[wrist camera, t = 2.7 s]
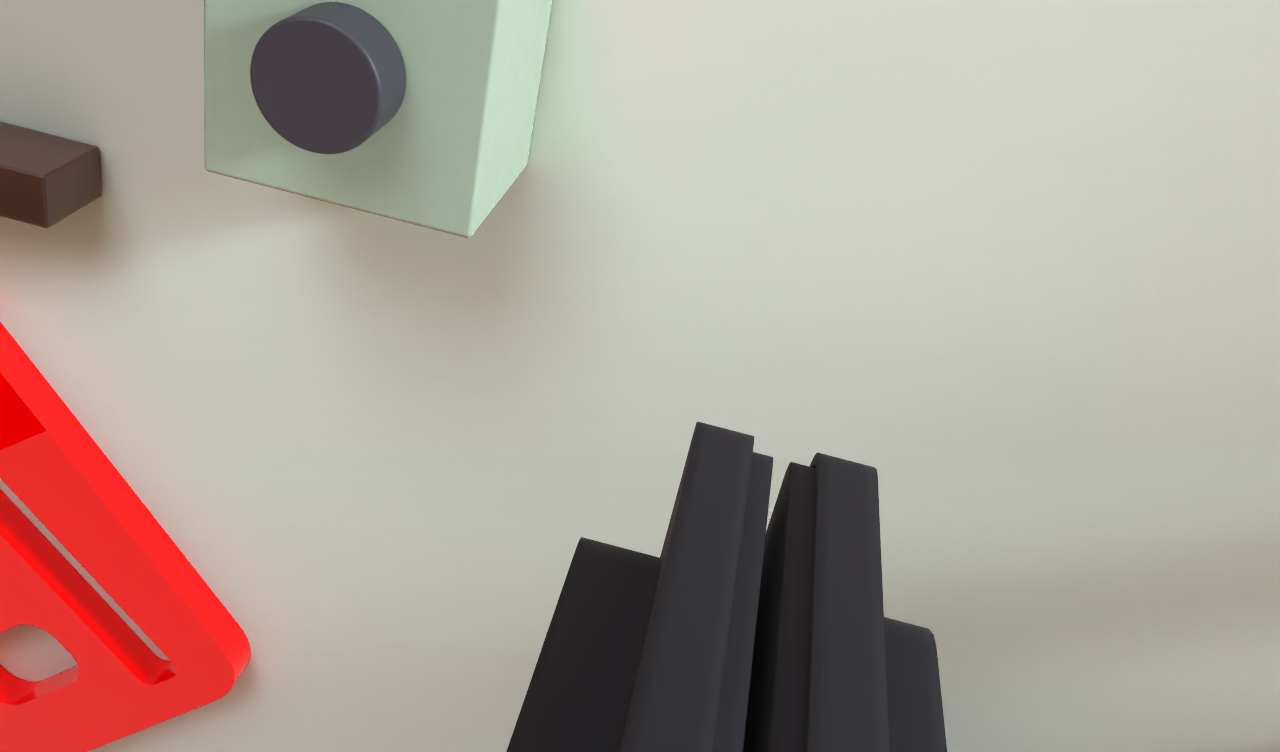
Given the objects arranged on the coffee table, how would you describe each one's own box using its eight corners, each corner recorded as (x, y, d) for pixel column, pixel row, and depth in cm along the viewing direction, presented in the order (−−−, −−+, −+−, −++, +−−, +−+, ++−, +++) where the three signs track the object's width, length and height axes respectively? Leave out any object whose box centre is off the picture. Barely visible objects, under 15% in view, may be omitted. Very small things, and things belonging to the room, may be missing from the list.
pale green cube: (308, -148, 21) (160, -117, 17) (566, -86, 21) (486, -37, 16) (297, 108, 24) (167, 195, 19) (528, 167, 23) (449, 268, 19)
